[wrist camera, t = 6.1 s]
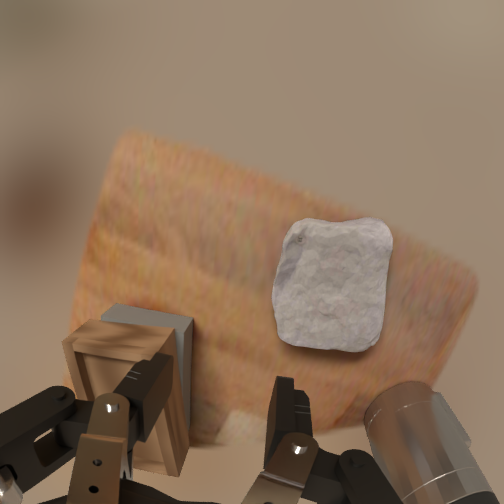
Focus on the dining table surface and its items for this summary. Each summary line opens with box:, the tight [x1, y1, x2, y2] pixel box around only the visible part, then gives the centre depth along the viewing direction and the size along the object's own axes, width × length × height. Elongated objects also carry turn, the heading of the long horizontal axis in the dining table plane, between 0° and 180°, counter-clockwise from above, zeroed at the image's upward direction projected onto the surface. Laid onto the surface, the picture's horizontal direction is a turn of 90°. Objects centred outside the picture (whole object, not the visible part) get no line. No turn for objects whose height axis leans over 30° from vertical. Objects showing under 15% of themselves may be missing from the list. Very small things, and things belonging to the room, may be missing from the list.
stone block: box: [271, 217, 393, 352], centre depth 28 cm, size 12×5×10 cm
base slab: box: [101, 303, 193, 431], centre depth 32 cm, size 8×15×4 cm, turn 174°
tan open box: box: [62, 319, 190, 477], centre depth 27 cm, size 9×15×5 cm, turn 0°
